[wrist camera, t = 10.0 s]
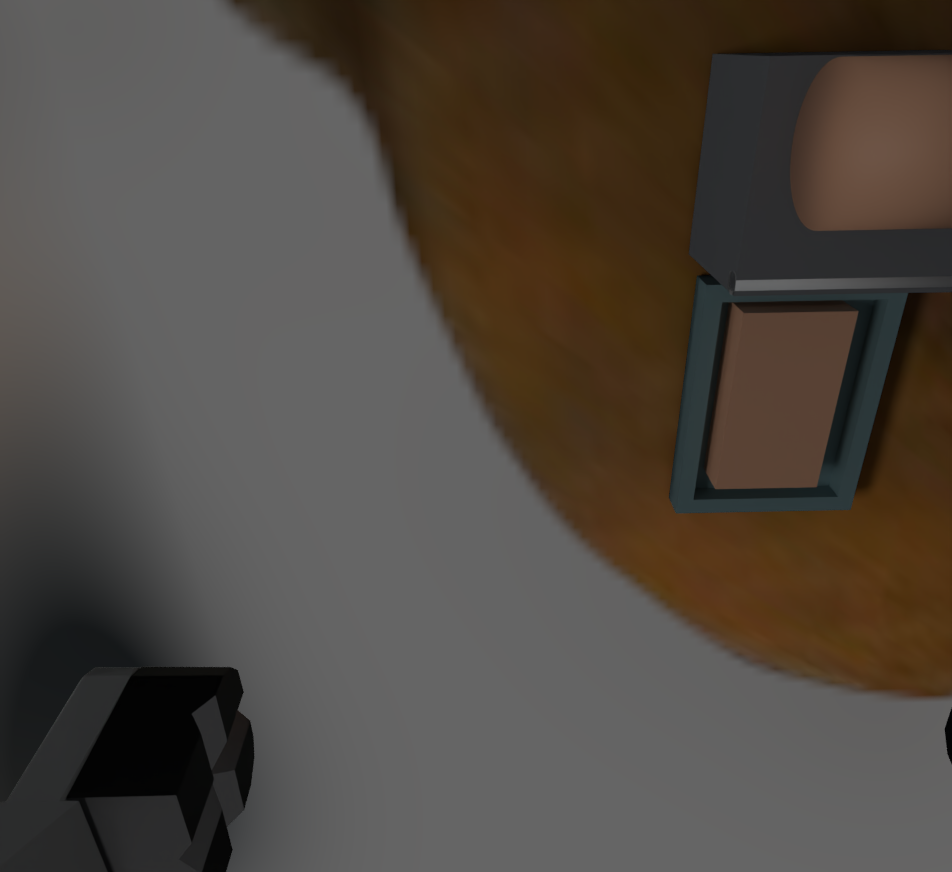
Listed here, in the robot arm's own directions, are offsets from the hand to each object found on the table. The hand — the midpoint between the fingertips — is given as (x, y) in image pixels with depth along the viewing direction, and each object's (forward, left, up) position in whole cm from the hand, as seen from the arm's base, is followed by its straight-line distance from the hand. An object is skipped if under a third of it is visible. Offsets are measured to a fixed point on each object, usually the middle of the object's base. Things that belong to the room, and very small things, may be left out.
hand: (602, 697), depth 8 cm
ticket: (+8, +13, -27) cm, 31 cm away
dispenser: (-2, +13, -27) cm, 30 cm away
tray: (+9, +13, -27) cm, 32 cm away
